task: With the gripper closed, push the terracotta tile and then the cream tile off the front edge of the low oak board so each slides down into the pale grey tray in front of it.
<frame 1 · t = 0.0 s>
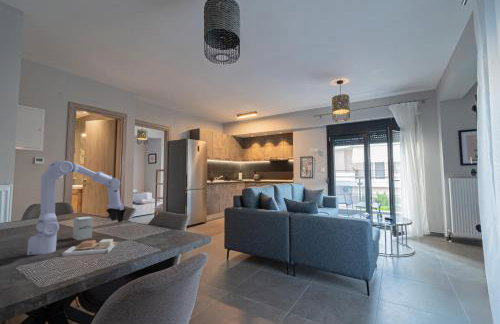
hand: (117, 220, 133), 11 cm above the table, tool pointing down, fingers open, 7 cm apart
terracotta tile: (88, 245, 115), point 1 cm above the table, touching oak board
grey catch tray: (89, 253, 107), on the table
cream tile: (106, 244, 118), point 1 cm above the table, touching oak board
oak board: (96, 247, 116), on the table
supplement box: (82, 240, 130), on the table
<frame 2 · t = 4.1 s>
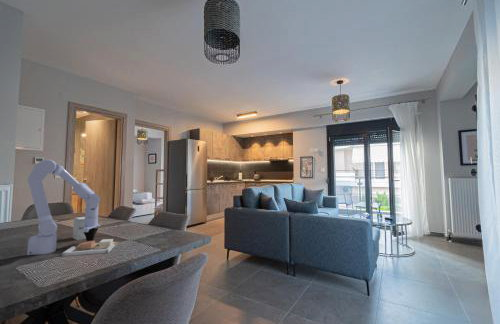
hand: (89, 243, 118), 2 cm above the table, tool pointing down, fingers closed
terracotta tile: (87, 246, 114), point 1 cm above the table, touching gripper
everything else where it was.
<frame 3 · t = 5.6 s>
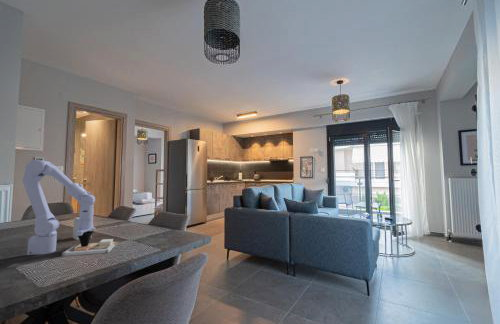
hand: (84, 247, 111), 2 cm above the table, tool pointing down, fingers closed
terracotta tile: (81, 252, 108), resting on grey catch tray, touching gripper
everything else where it was.
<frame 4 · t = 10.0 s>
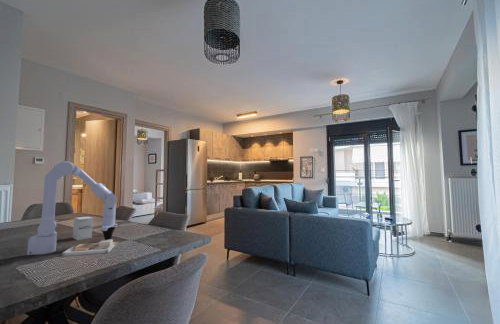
hand: (107, 241, 121), 2 cm above the table, tool pointing down, fingers closed
terracotta tile: (81, 252, 108), resting on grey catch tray
cream tile: (105, 244, 117), point 1 cm above the table, touching gripper, oak board
everything else where it was.
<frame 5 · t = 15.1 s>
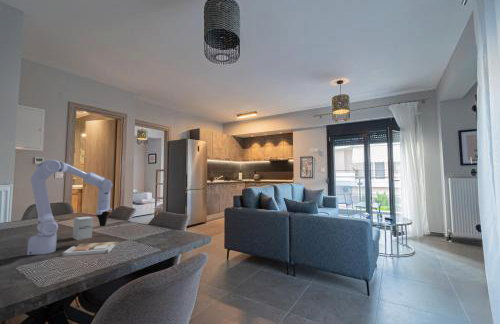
hand: (102, 225, 124), 9 cm above the table, tool pointing down, fingers closed
cream tile: (100, 251, 110), resting on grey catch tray
everything else where it was.
at the end: terracotta tile inside the target area on the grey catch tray (4.2 cm from its centre), point 0.3 cm above the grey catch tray's base; cream tile inside the target area on the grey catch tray (4.5 cm from its centre), point 0.3 cm above the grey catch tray's base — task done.
